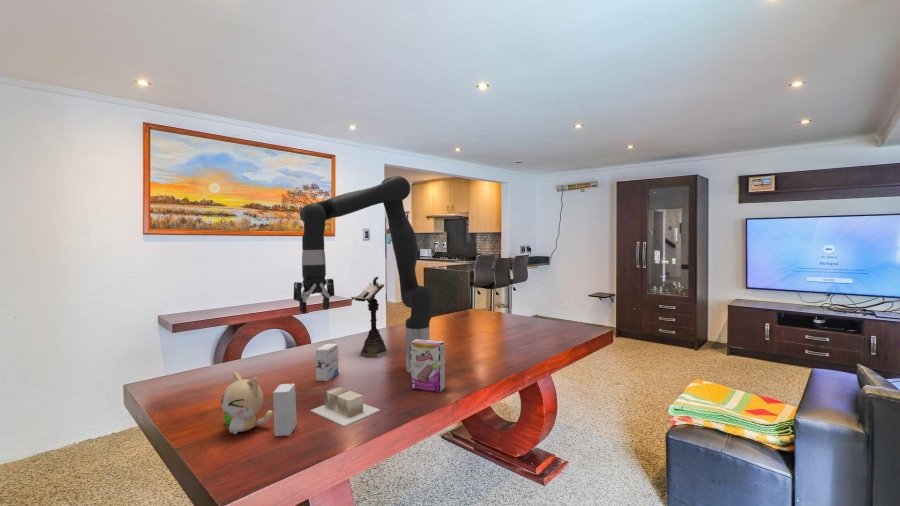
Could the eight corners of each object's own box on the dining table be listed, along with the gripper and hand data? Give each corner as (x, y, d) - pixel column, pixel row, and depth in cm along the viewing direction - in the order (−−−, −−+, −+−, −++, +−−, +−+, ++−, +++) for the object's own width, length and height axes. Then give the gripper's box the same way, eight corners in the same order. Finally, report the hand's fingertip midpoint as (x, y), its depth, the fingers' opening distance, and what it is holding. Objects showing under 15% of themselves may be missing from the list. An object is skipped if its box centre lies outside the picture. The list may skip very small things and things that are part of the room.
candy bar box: (410, 389, 141) (409, 342, 140) (415, 384, 146) (415, 338, 145) (440, 393, 137) (439, 344, 137) (445, 387, 142) (445, 340, 142)
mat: (310, 411, 124) (310, 410, 124) (346, 398, 134) (346, 396, 134) (344, 426, 114) (344, 425, 114) (380, 411, 124) (380, 409, 124)
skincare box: (281, 426, 115) (279, 383, 114) (296, 425, 115) (295, 383, 115) (273, 436, 109) (272, 392, 108) (290, 435, 109) (289, 391, 109)
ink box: (327, 373, 159) (326, 343, 159) (339, 373, 158) (338, 343, 158) (315, 380, 151) (314, 349, 150) (328, 381, 150) (327, 349, 149)
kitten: (209, 429, 113) (207, 375, 113) (243, 416, 122) (242, 365, 121) (241, 443, 106) (239, 385, 105) (275, 427, 114) (274, 374, 113)
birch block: (324, 391, 126) (348, 400, 119) (338, 386, 130) (362, 395, 122) (325, 407, 126) (349, 417, 119) (339, 402, 130) (363, 412, 123)
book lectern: (364, 362, 172) (362, 278, 170) (346, 356, 180) (344, 277, 179) (395, 353, 184) (393, 275, 183) (376, 348, 193) (375, 274, 191)
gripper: (301, 265, 131) (302, 315, 131) (338, 262, 142) (339, 309, 143) (288, 264, 135) (289, 313, 136) (325, 261, 147) (326, 307, 147)
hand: (315, 311), depth 139 cm, fingers open, 8 cm apart
